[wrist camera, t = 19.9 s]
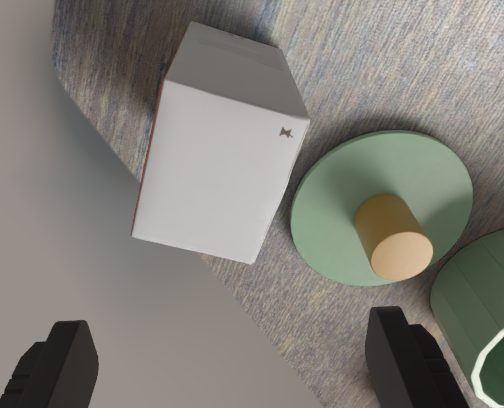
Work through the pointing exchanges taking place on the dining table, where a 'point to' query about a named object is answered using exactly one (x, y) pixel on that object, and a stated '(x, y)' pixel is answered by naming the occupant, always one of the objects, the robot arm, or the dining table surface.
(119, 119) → the dining table surface
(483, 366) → the tin
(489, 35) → the dining table surface
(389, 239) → the lid
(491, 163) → the dining table surface
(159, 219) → the small box
